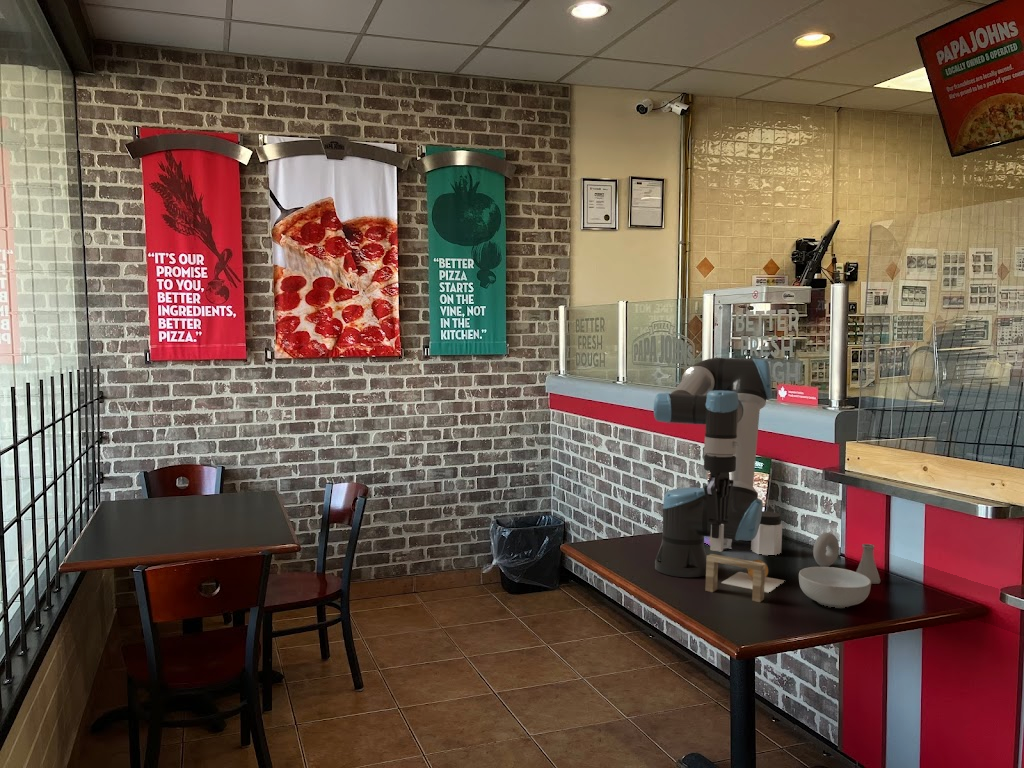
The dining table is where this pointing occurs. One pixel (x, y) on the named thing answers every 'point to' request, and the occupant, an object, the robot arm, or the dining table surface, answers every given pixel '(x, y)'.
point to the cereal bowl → (834, 586)
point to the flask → (868, 564)
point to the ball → (750, 571)
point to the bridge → (756, 566)
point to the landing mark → (751, 581)
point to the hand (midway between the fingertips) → (716, 550)
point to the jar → (768, 535)
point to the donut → (820, 548)
